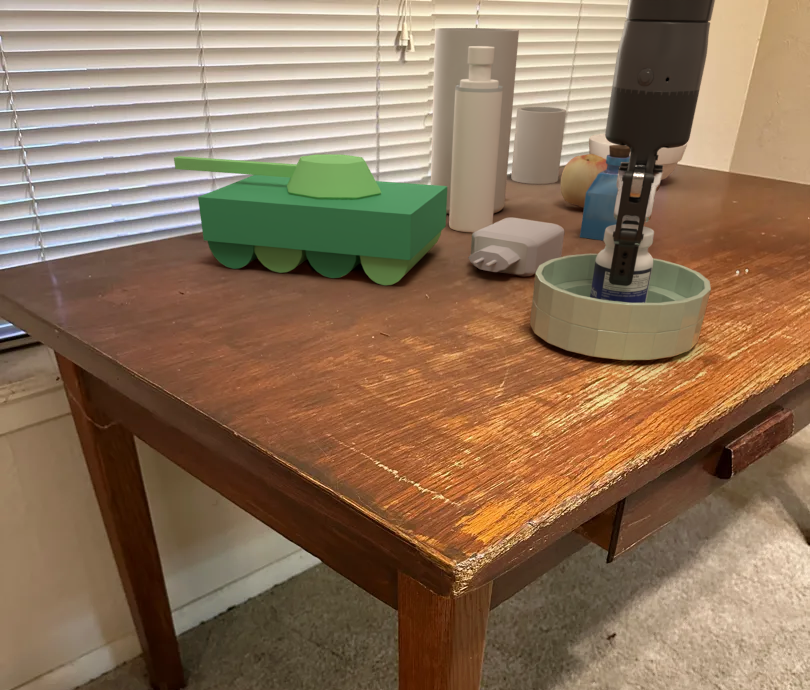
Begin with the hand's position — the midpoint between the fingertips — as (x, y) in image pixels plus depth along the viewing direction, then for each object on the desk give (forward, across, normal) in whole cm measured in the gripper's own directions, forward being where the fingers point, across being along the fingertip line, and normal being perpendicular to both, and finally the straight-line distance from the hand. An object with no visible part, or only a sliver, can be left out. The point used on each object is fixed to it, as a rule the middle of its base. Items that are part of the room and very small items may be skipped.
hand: (622, 273), depth 76 cm
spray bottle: (+7, +40, +24) cm, 47 cm away
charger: (+7, +19, +15) cm, 25 cm away
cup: (+7, +82, +21) cm, 85 cm away
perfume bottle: (+7, +42, +4) cm, 43 cm away
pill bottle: (+6, 0, 0) cm, 6 cm away
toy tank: (+7, +16, +42) cm, 46 cm away
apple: (+7, +59, +9) cm, 60 cm away
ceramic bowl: (+6, 0, 0) cm, 6 cm away
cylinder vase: (+7, +52, +28) cm, 60 cm away
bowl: (+7, +87, +3) cm, 87 cm away
